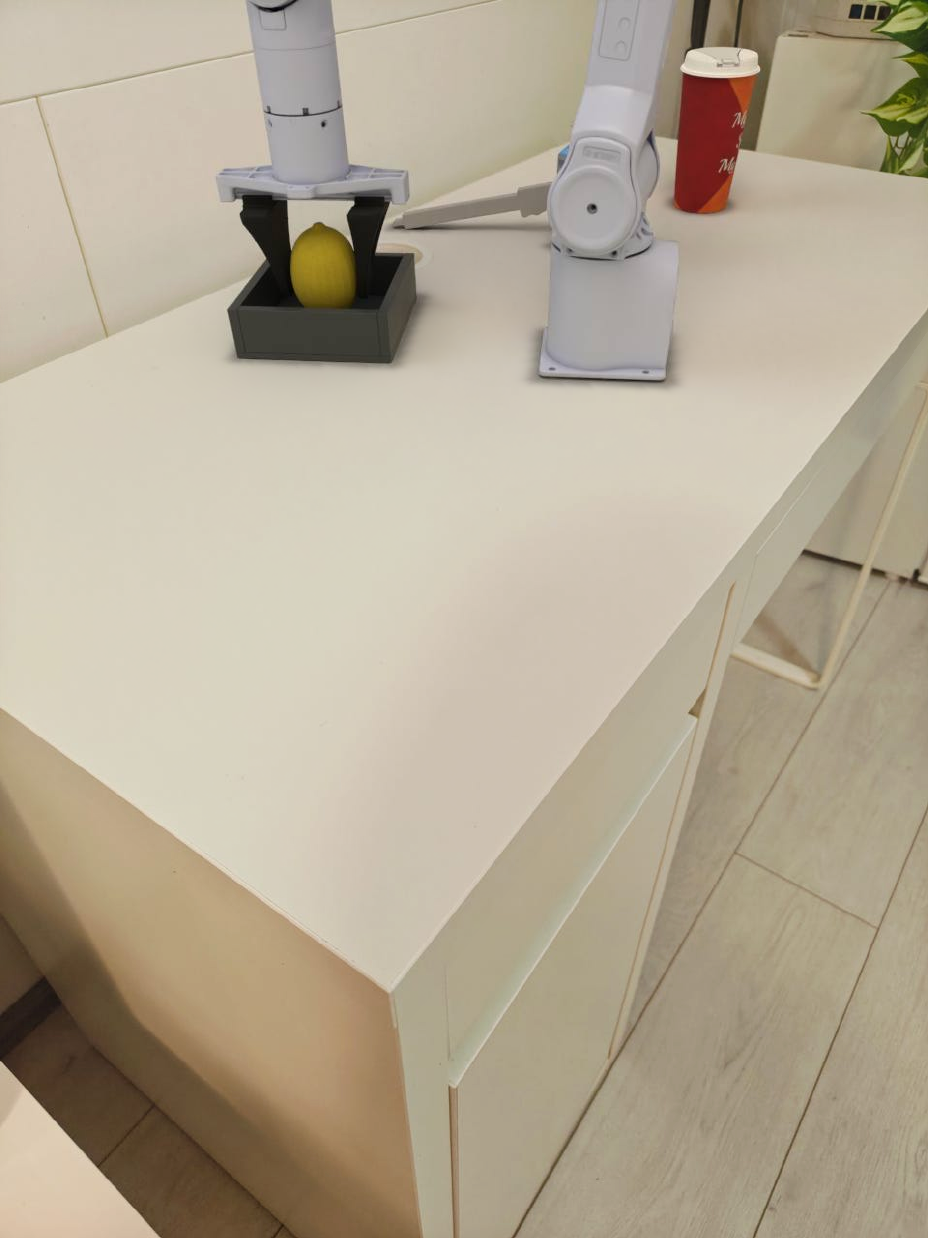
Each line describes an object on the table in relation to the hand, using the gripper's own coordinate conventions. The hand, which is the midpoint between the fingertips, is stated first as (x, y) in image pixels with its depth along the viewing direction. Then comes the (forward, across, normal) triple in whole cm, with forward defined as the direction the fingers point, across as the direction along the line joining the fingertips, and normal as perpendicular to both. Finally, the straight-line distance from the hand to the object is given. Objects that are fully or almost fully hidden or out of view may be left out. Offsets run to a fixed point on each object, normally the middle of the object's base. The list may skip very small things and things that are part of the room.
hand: (327, 292), depth 72 cm
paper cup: (+3, +33, +33) cm, 47 cm away
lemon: (+3, 0, 0) cm, 3 cm away
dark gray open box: (+3, 0, 0) cm, 3 cm away
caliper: (+3, +11, +24) cm, 27 cm away
